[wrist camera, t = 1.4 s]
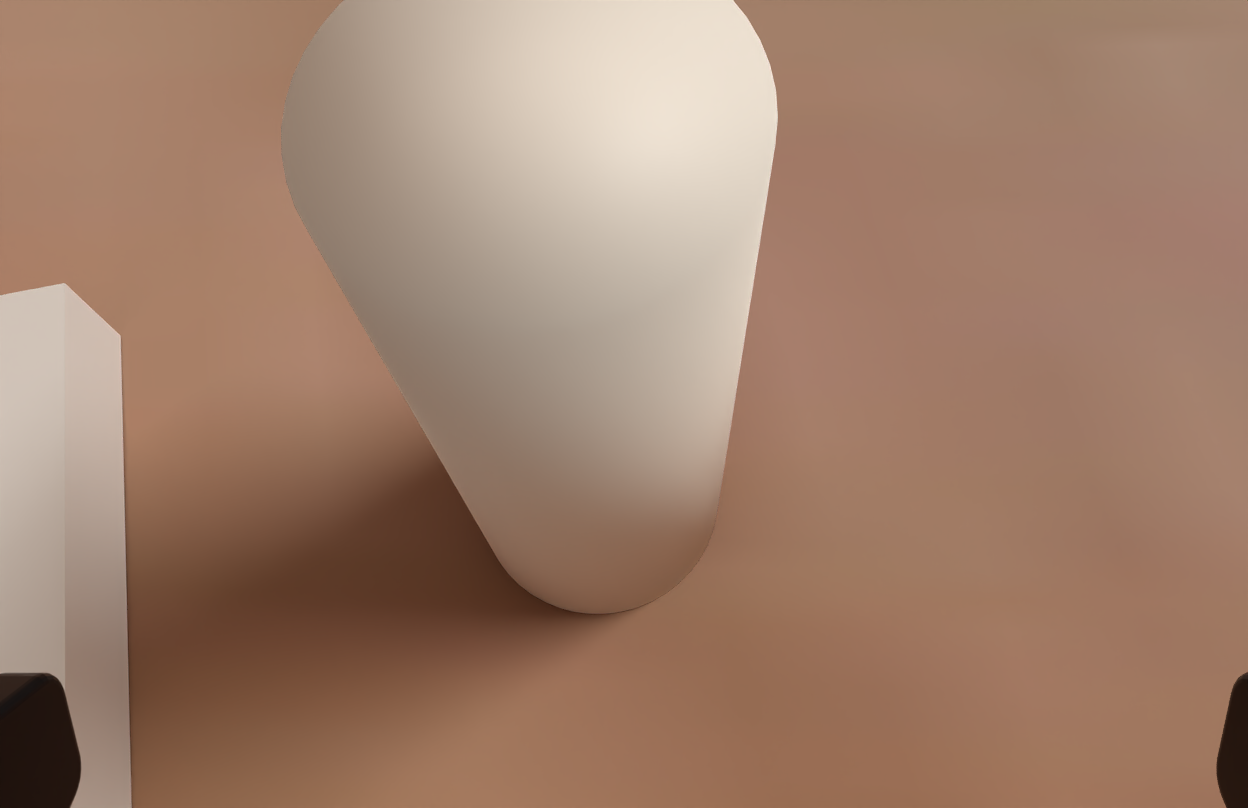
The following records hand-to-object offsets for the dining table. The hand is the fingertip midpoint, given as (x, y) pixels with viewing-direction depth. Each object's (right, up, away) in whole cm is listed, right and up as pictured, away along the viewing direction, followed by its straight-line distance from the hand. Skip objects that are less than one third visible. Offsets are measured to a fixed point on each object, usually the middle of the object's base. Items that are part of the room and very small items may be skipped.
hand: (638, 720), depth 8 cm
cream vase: (-1, 0, +15) cm, 15 cm away
